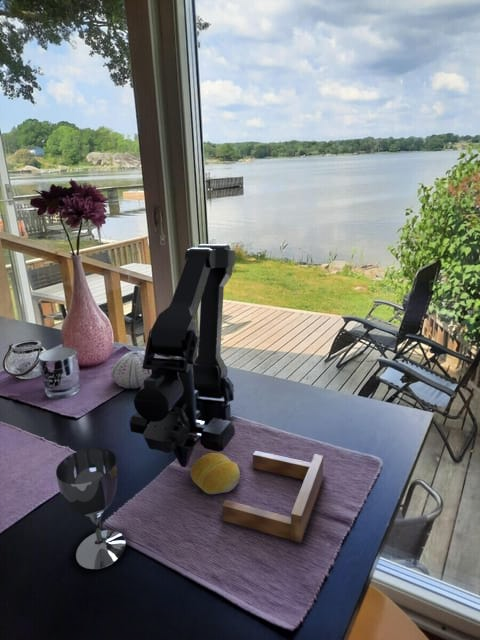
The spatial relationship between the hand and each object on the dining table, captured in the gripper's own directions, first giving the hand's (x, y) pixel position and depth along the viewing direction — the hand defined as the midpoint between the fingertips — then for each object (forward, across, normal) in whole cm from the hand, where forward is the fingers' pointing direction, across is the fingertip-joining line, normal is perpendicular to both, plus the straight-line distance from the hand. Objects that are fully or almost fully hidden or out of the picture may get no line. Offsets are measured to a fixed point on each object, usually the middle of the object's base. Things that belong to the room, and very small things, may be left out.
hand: (184, 465), depth 82 cm
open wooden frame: (+1, +18, -1) cm, 18 cm away
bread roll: (+2, +6, 0) cm, 6 cm away
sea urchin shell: (+2, -30, +29) cm, 42 cm away
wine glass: (+2, -3, -20) cm, 20 cm away
